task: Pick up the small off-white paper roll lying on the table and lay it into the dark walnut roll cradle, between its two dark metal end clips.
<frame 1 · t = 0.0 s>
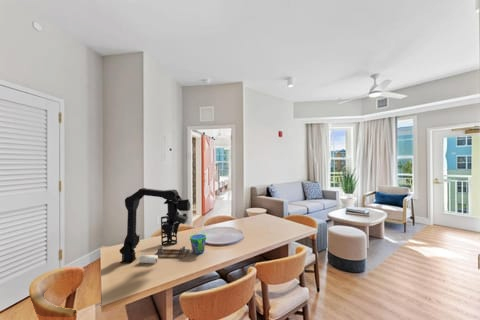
hand: (173, 236, 129), 15 cm above the table, tool pointing down, fingers open, 9 cm apart
snack cup: (198, 252, 141), on the table
holder: (169, 243, 158), on the table
cradle: (171, 254, 139), on the table
roll: (149, 263, 128), on the table
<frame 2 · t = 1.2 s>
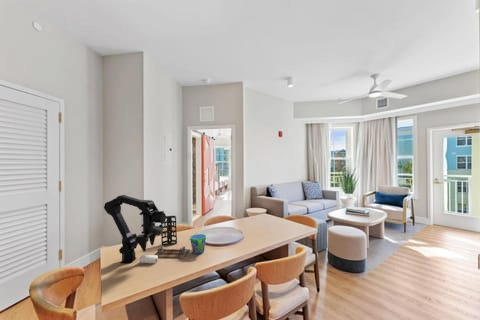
hand: (148, 248, 128), 9 cm above the table, tool pointing down, fingers open, 9 cm apart
nothing on the table moved.
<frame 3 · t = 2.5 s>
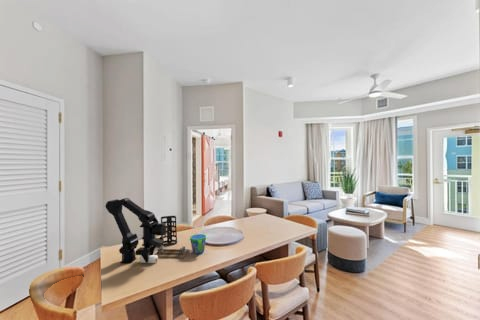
hand: (149, 260, 128), 1 cm above the table, tool pointing down, fingers closed on roll, 4 cm apart
roll: (149, 262, 128), on the table, touching gripper
everything else where it was.
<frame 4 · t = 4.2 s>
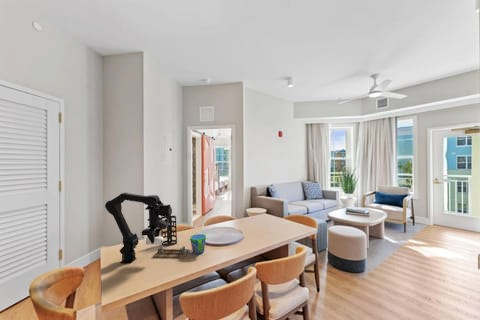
hand: (154, 242, 130), 11 cm above the table, tool pointing down, fingers closed on roll, 4 cm apart
roll: (154, 244, 130), point 10 cm above the table, touching gripper
everything else where it was.
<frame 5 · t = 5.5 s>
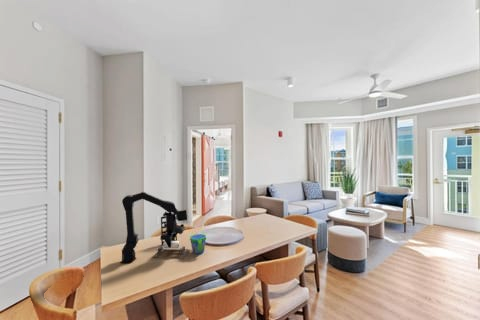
hand: (171, 246, 139), 5 cm above the table, tool pointing down, fingers closed on roll, 4 cm apart
roll: (171, 247, 139), point 4 cm above the table, touching gripper
everything else where it was.
when the fingers open (4 cm above the table, at t = 6.3 s): roll stays where it is, resting on cradle.
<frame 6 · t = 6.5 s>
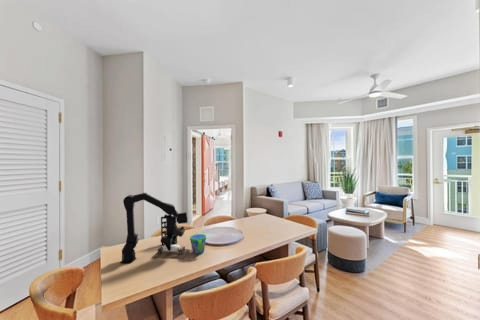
hand: (171, 248, 139), 4 cm above the table, tool pointing down, fingers open, 6 cm apart
roll: (171, 251, 139), point 2 cm above the table, touching cradle
everything else where it was.
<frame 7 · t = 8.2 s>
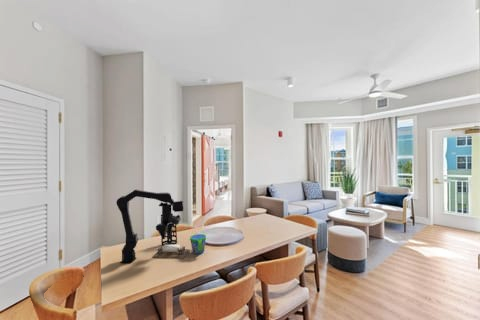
hand: (166, 236, 138), 12 cm above the table, tool pointing down, fingers open, 9 cm apart
nothing on the table moved.
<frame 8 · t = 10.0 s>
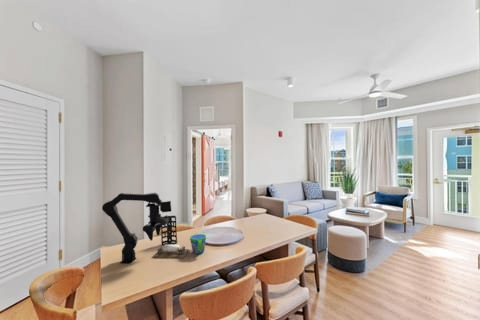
hand: (154, 237, 136), 12 cm above the table, tool pointing down, fingers open, 9 cm apart
nothing on the table moved.
at the end: roll 0.0 cm off-centre on the cradle, point 1.6 cm above the cradle's base; the gripper is holding nothing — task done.
